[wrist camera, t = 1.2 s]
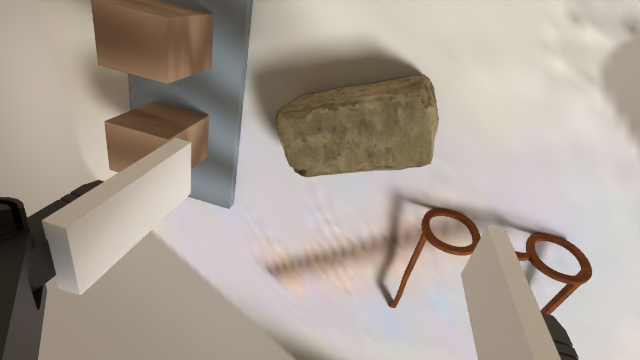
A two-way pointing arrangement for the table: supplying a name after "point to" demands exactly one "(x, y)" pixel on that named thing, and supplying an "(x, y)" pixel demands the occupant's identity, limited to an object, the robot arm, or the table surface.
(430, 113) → the stone block
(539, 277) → the table surface
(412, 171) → the table surface
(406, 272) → the glasses
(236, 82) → the bridge base
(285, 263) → the table surface
